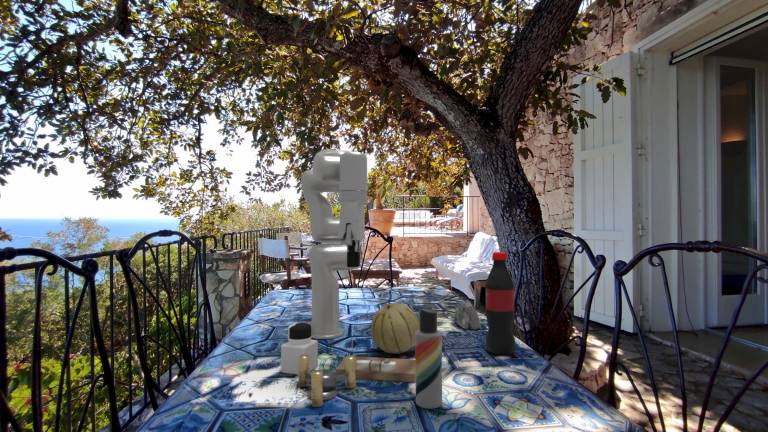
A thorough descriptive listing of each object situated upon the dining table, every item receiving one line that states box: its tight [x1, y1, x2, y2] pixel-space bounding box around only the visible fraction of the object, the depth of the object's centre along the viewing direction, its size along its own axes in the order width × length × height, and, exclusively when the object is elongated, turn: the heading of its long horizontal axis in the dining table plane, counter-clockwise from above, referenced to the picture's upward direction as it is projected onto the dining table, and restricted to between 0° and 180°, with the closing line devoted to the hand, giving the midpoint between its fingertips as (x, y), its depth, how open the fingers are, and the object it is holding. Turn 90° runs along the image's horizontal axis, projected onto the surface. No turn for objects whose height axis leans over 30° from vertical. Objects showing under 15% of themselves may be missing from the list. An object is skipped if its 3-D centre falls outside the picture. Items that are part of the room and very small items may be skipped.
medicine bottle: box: [280, 322, 319, 376], centre depth 104 cm, size 7×7×12 cm
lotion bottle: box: [414, 308, 443, 410], centre depth 84 cm, size 6×6×20 cm
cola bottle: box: [484, 251, 516, 356], centre depth 117 cm, size 8×8×30 cm
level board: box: [335, 356, 415, 383], centre depth 102 cm, size 20×10×5 cm, turn 80°
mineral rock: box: [453, 299, 482, 330], centre depth 148 cm, size 13×11×10 cm
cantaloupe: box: [370, 302, 420, 355], centre depth 118 cm, size 15×15×15 cm
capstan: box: [298, 354, 357, 408], centre depth 88 cm, size 12×14×7 cm
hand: (353, 266), depth 105 cm, fingers closed
